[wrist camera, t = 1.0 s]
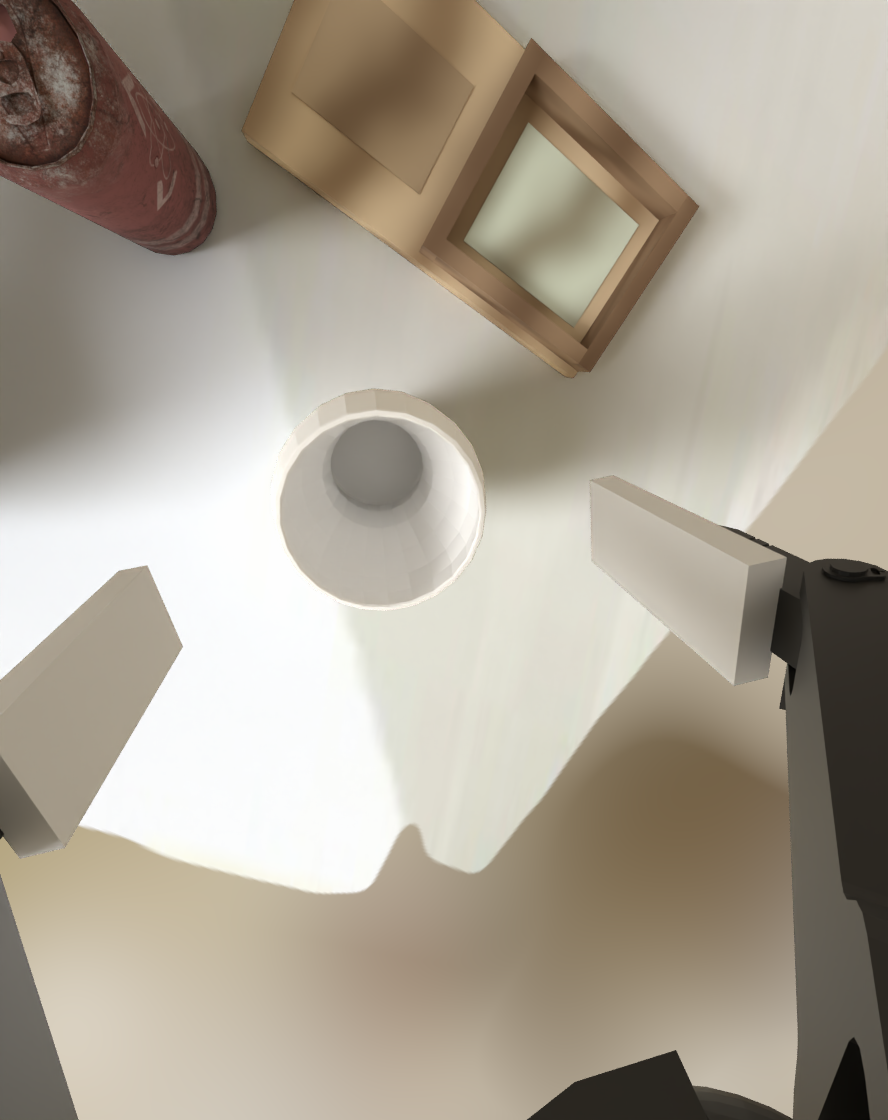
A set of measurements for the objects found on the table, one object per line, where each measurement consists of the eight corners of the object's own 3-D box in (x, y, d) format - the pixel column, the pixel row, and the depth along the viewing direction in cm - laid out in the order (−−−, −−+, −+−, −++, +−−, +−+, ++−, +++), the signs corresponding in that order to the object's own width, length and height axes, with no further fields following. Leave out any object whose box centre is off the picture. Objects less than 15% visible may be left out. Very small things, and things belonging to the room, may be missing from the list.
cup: (473, 478, 37) (535, 548, 24) (357, 550, 38) (353, 658, 25) (397, 348, 33) (421, 342, 19) (269, 433, 34) (205, 484, 20)
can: (137, 95, 26) (-74, -150, 14) (240, 195, 29) (140, 66, 16) (78, 191, 28) (-169, 47, 15) (181, 280, 30) (44, 222, 17)
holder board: (247, 141, 28) (232, 113, 25) (346, -101, 25) (344, -168, 22) (565, 377, 36) (585, 379, 32) (671, 213, 33) (704, 198, 29)
